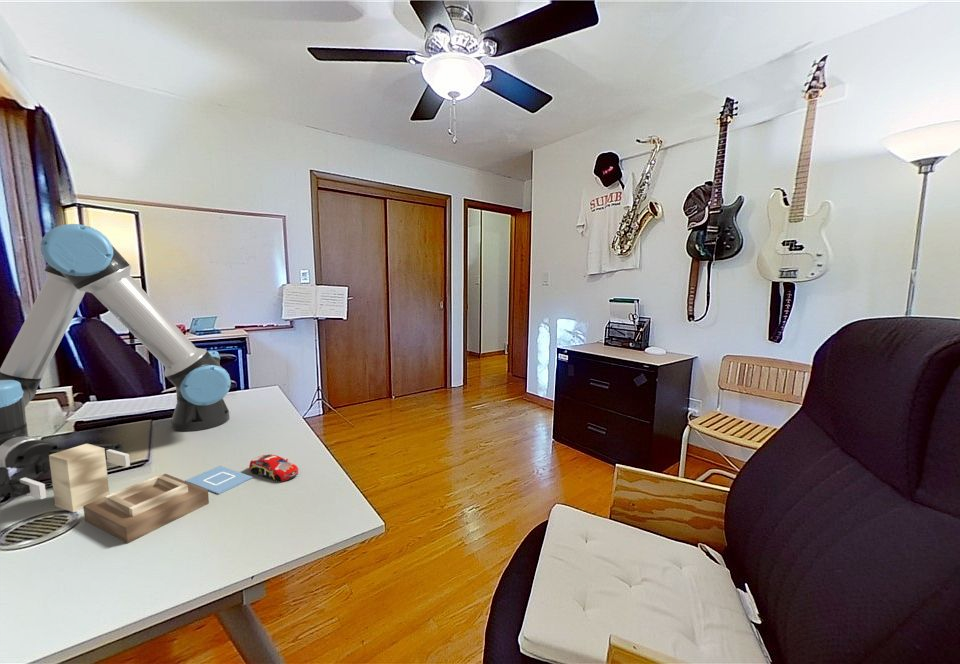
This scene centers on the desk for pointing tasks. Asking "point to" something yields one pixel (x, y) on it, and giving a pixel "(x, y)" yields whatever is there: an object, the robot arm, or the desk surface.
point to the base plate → (145, 506)
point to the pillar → (79, 476)
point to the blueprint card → (219, 479)
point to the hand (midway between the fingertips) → (88, 475)
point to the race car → (273, 467)
